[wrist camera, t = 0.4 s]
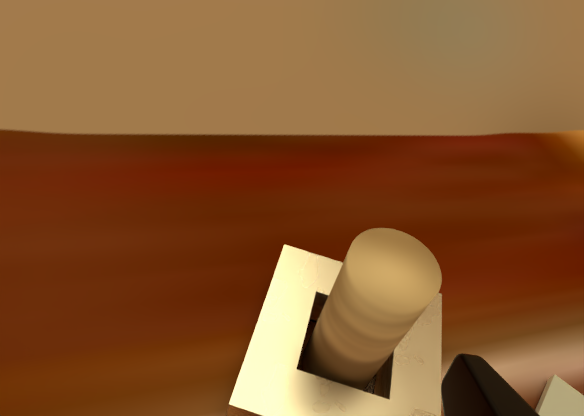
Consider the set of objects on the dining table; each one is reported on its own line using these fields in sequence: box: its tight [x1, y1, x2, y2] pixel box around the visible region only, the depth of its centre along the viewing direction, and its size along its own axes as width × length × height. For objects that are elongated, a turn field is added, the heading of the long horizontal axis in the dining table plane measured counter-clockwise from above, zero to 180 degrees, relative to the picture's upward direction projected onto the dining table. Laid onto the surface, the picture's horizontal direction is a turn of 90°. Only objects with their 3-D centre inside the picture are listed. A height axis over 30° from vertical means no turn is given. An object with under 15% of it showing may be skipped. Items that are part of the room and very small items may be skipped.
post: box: [302, 228, 442, 391], centre depth 22 cm, size 4×4×10 cm
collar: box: [227, 244, 442, 416], centre depth 24 cm, size 10×10×3 cm
